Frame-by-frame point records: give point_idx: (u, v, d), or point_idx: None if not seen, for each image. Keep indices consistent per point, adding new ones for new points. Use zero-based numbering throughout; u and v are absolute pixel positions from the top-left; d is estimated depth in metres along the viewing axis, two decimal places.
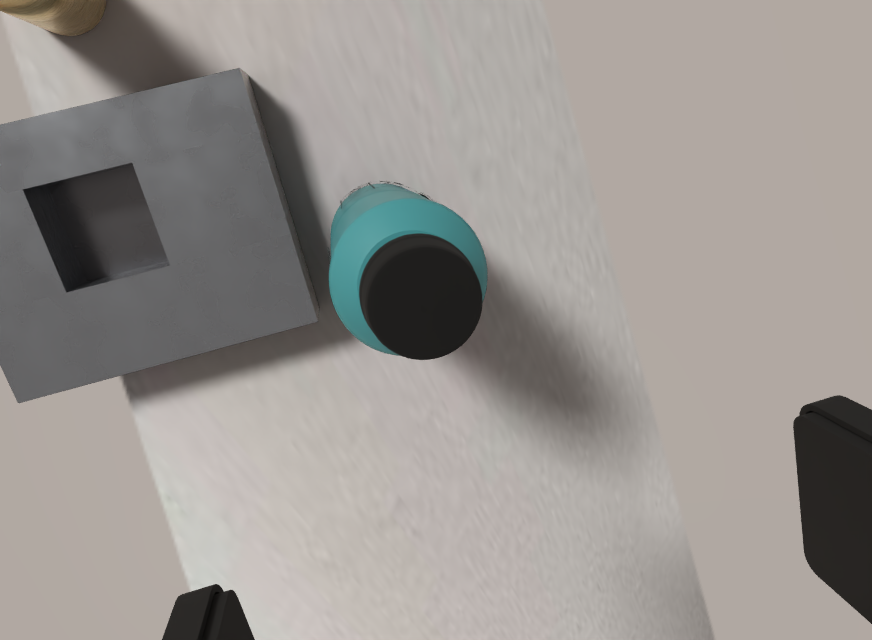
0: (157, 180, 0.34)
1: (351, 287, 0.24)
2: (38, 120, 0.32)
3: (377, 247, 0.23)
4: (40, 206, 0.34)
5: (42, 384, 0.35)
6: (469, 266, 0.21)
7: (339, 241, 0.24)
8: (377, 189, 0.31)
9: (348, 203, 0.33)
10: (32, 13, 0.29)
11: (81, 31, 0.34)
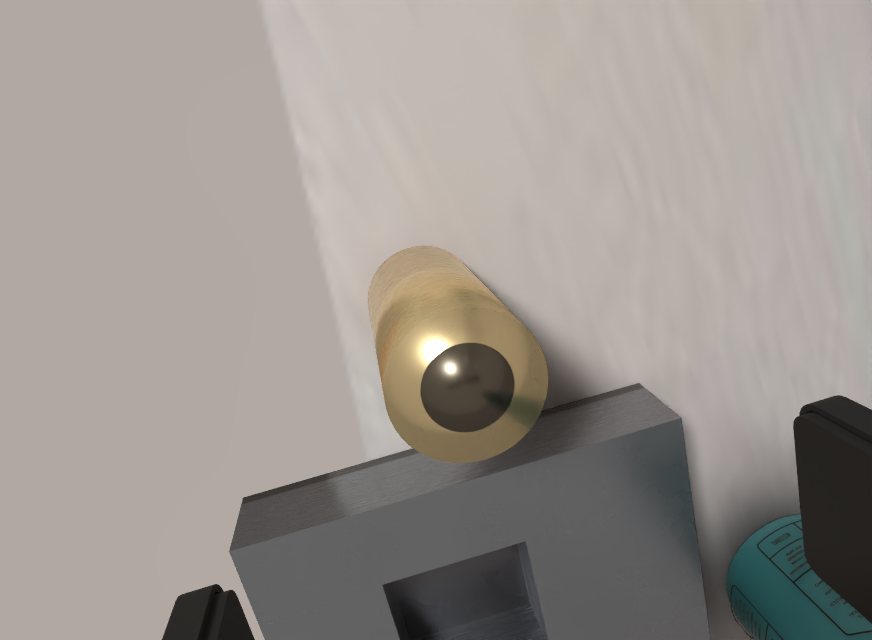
0: (553, 559, 0.25)
1: None
2: (415, 502, 0.23)
3: None
4: (386, 585, 0.25)
5: None
6: None
7: None
8: None
9: (830, 605, 0.24)
10: None
11: None
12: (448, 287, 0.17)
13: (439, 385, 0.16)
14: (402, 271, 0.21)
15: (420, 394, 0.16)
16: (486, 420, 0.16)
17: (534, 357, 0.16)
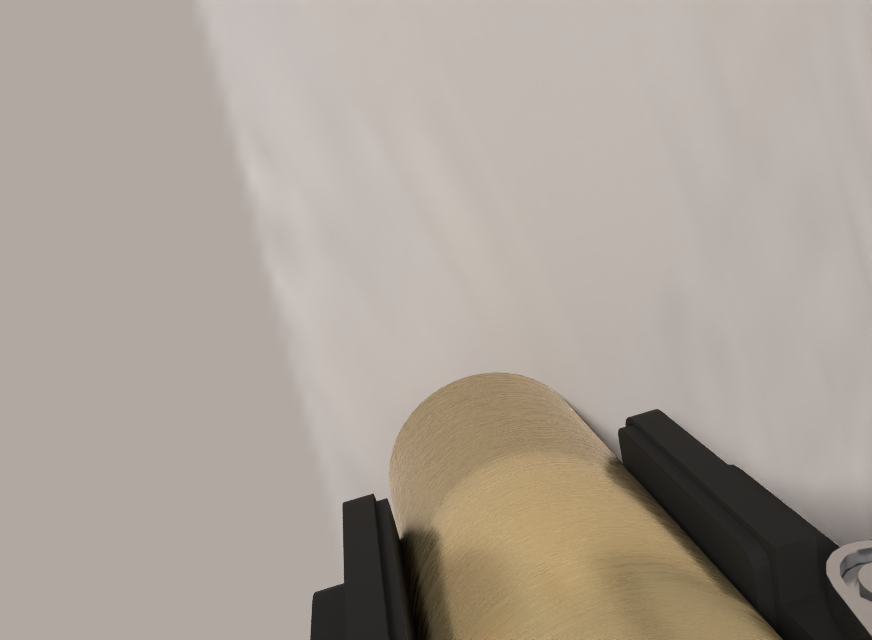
0: None
1: None
2: None
3: None
4: None
5: None
6: None
7: None
8: None
9: None
10: None
11: None
12: (644, 612, 0.06)
13: None
14: (472, 463, 0.10)
15: None
16: None
17: None
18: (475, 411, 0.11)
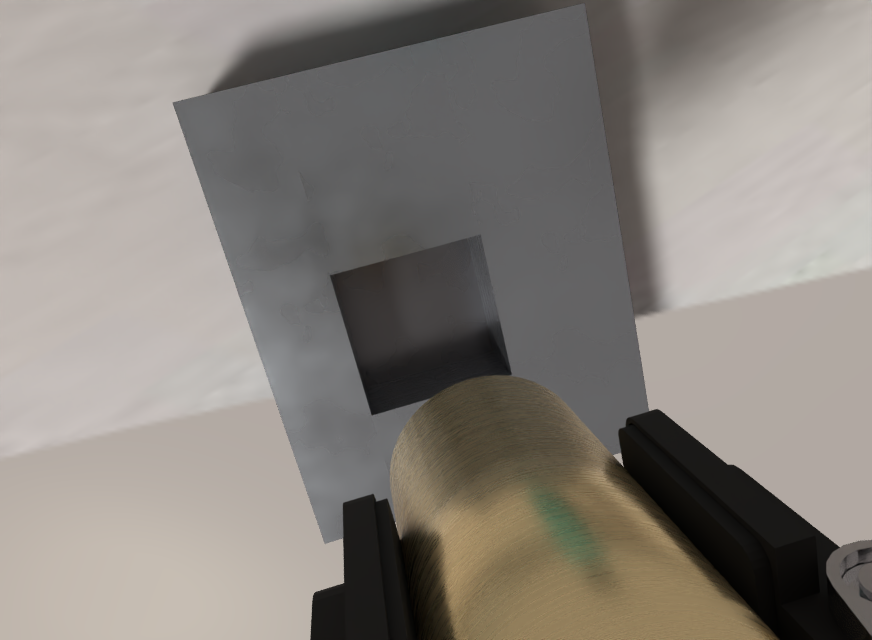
0: (355, 242, 0.22)
1: None
2: (278, 389, 0.23)
3: None
4: (393, 397, 0.25)
5: (632, 413, 0.26)
6: None
7: None
8: None
9: None
10: None
11: None
12: (644, 617, 0.06)
13: None
14: (472, 466, 0.10)
15: None
16: None
17: None
18: (475, 414, 0.11)
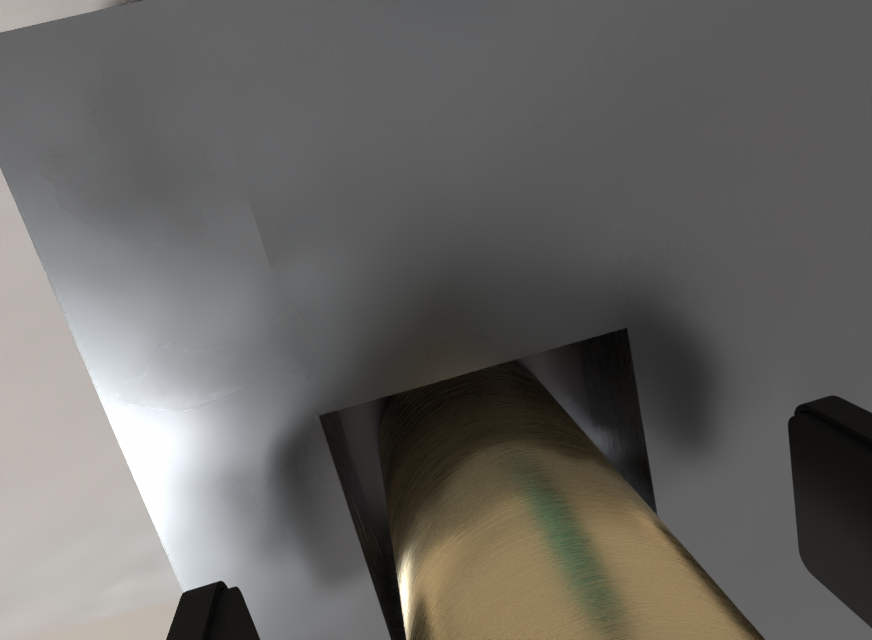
0: (371, 348, 0.11)
1: None
2: None
3: None
4: None
5: None
6: None
7: None
8: None
9: None
10: None
11: None
12: (576, 533, 0.08)
13: None
14: (447, 427, 0.11)
15: None
16: None
17: None
18: (453, 385, 0.13)
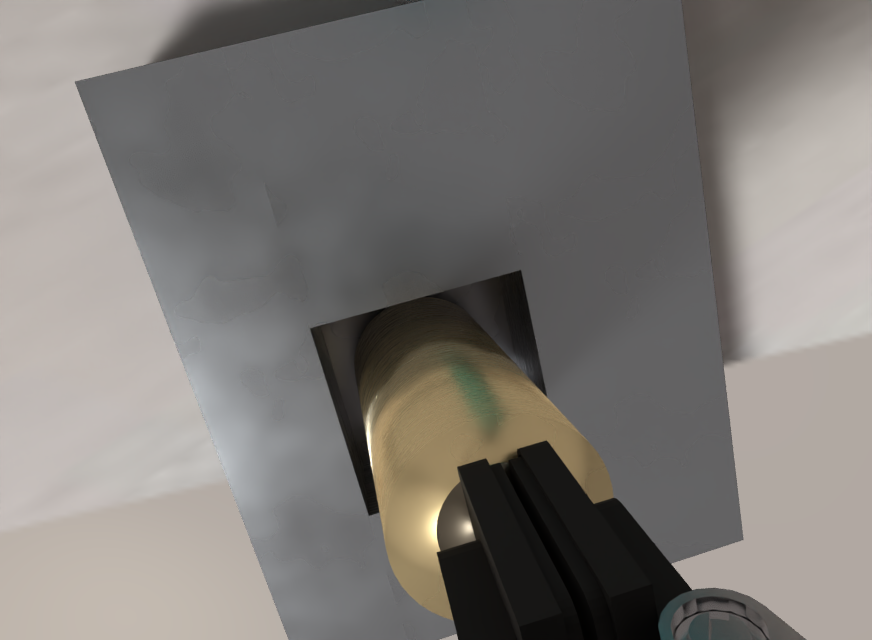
0: (344, 282, 0.16)
1: None
2: (238, 485, 0.17)
3: None
4: None
5: (717, 503, 0.19)
6: None
7: None
8: None
9: None
10: None
11: None
12: (468, 373, 0.13)
13: (463, 523, 0.11)
14: (399, 337, 0.16)
15: (436, 536, 0.11)
16: None
17: (595, 477, 0.11)
18: (406, 314, 0.18)
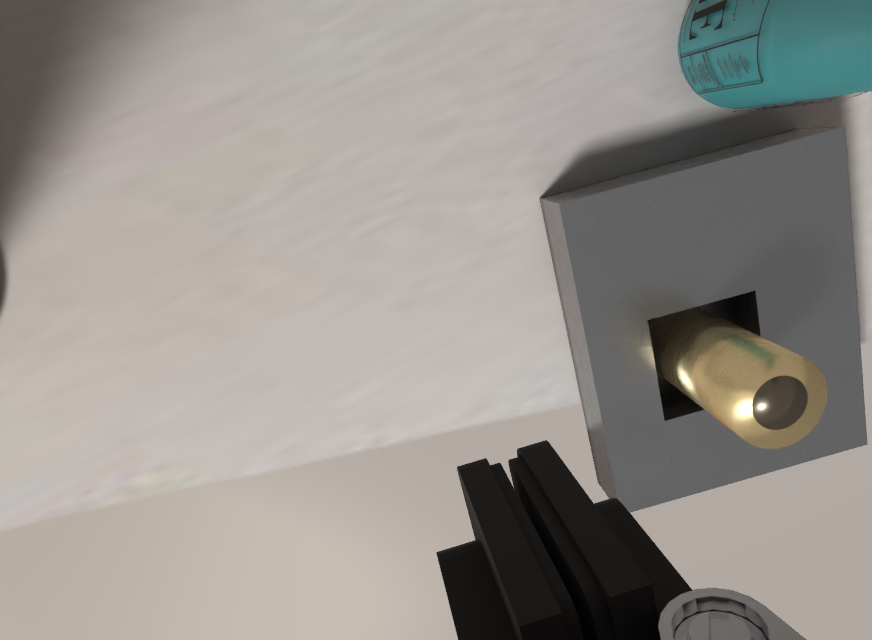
0: (667, 296, 0.31)
1: None
2: (602, 401, 0.32)
3: None
4: (672, 407, 0.34)
5: (853, 421, 0.34)
6: None
7: None
8: (747, 33, 0.24)
9: (741, 76, 0.26)
10: None
11: None
12: (752, 340, 0.28)
13: (764, 401, 0.26)
14: (690, 325, 0.32)
15: (751, 406, 0.26)
16: (788, 422, 0.27)
17: (820, 384, 0.27)
18: (683, 313, 0.33)
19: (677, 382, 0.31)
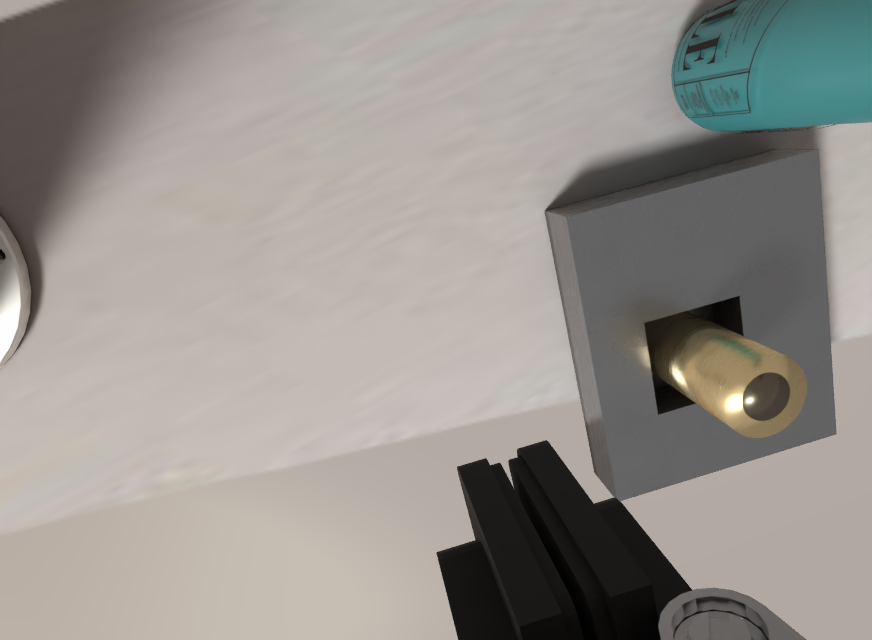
0: (662, 301, 0.34)
1: None
2: (602, 397, 0.35)
3: None
4: (664, 402, 0.37)
5: (824, 413, 0.38)
6: None
7: None
8: (738, 69, 0.28)
9: (731, 106, 0.29)
10: None
11: None
12: (740, 341, 0.31)
13: (752, 395, 0.30)
14: (682, 327, 0.35)
15: (741, 400, 0.30)
16: (773, 414, 0.30)
17: (801, 379, 0.30)
18: (675, 316, 0.36)
19: (671, 379, 0.35)
